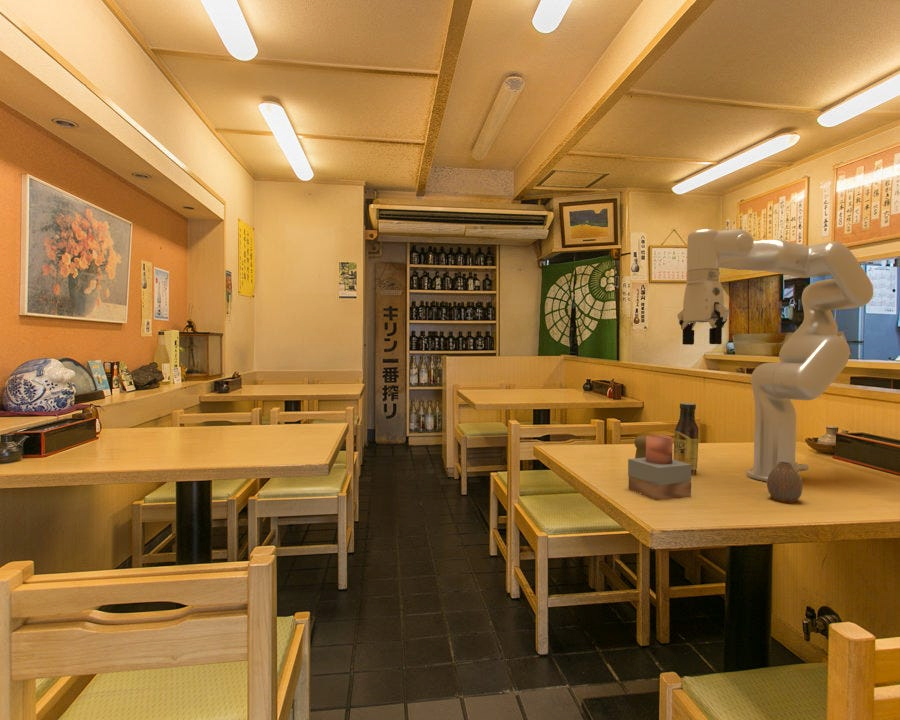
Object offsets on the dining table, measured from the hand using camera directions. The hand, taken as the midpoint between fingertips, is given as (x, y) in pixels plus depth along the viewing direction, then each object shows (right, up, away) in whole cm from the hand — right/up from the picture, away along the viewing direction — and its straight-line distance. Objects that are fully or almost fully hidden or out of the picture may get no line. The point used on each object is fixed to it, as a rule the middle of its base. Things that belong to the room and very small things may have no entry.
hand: (701, 344), depth 130 cm
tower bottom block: (-15, -37, -9) cm, 41 cm away
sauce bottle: (+1, -36, +11) cm, 38 cm away
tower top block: (-15, -33, -9) cm, 37 cm away
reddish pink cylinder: (-15, -29, -8) cm, 33 cm away
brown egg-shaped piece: (+12, -37, -14) cm, 41 cm away
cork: (-12, -36, +7) cm, 39 cm away
